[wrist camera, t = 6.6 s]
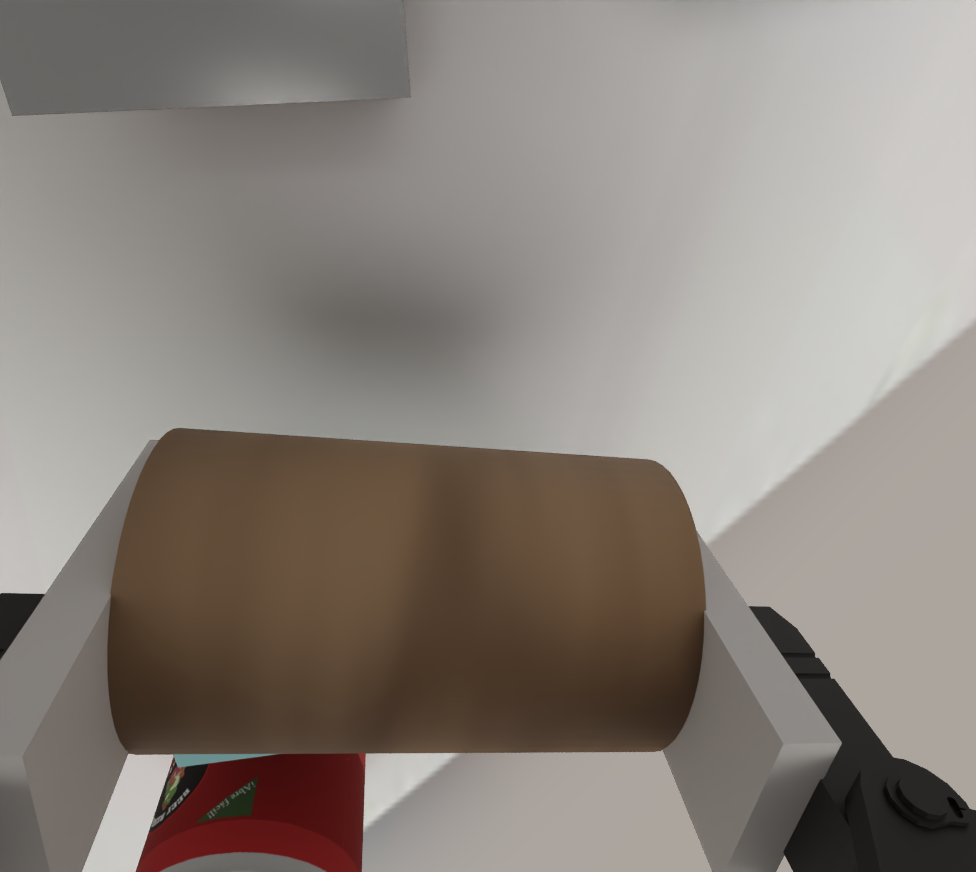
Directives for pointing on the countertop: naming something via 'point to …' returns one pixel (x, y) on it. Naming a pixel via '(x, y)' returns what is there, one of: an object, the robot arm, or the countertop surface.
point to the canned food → (260, 816)
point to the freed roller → (401, 600)
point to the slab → (198, 53)
